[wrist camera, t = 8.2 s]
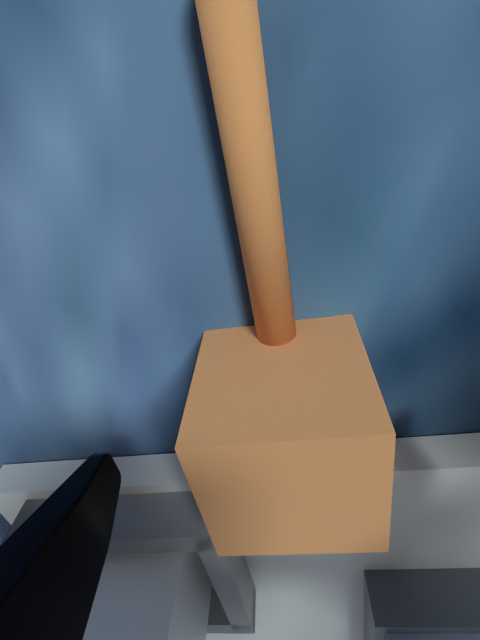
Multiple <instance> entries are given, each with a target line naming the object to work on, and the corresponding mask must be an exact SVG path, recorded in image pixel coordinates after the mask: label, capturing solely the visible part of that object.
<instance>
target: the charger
mask: <svg viewBox="0 0 480 640" xmlns="http://www.w3.org/2000/svg"><path fill="white" fill-rule="evenodd" d="M211 589H212V582H211V580H210V578H209V576H208V574H207V571H206V569H205V567H204V565H203V563H202V561H201V558H200V556H199V554H198V552H197V551H196V552H159V553H123V554H107V556H106V559H105V563H104V566H103V570H102V573H101V577H100V580H99V584H98V587H97V591H96V594H95V598H94V601H93V605H92V608H91V612H90V616H89V619H88V623H87V626H86V630H85V633H84V637H83V640H206V635H207V625H208V616H209V607H210V598H211Z"/></svg>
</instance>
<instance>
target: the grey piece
mask: <svg viewBox="0 0 480 640" xmlns="http://www.w3.org/2000/svg"><path fill="white" fill-rule="evenodd" d="M364 640H480V568H440V569H387V570H364Z"/></svg>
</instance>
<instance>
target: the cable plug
mask: <svg viewBox="0 0 480 640" xmlns="http://www.w3.org/2000/svg"><path fill="white" fill-rule="evenodd" d="M195 5H196V10H197V16H198V21H199V26H200V32H201V37H202V43H203V48H204V53H205V59H206V64H207V69H208V75H209V80H210V86H211V91H212V96H213V102H214V107H215V112H216V118H217V123H218V128H219V134H220V139H221V145H222V150H223V155H224V161H225V166H226V171H227V177H228V182H229V188H230V193H231V198H232V204H233V209H234V214H235V220H236V225H237V231H238V236H239V241H240V247H241V252H242V257H243V263H244V268H245V274H246V279H247V284H248V290H249V295H250V300H251V306H252V311H253V317H254V322H255V325H252V326H243V327H235V328H226V329H217V330H209V331H204V334H203V338H202V342H201V346H200V350H199V354H198V358H197V362H196V366H195V370H194V374H193V378H192V382H191V385H190V389H189V393H188V397H187V401H186V405H185V409H184V413H183V417H182V421H181V425H180V429H179V433H178V437H177V441H176V445H175V452H176V454H177V456H178V459H179V461H180V464H181V466H182V469H183V471H184V474H185V476H186V479H187V481H188V483H189V486H190V488H191V491H192V493H193V496H194V498H195V501H196V503H197V506H198V508H199V510H200V513H201V515H202V518H203V520H204V523H205V525H206V528H207V530H208V533H209V535H210V537H211V540H212V542H213V545H214V547H215V550H216V552H217V555H218V556H246V555H290V554H333V553H377V552H389V537H390V521H391V505H392V489H393V473H394V458H395V442H396V433H395V430H394V427H393V424H392V422H391V419H390V416H389V413H388V411H387V408H386V405H385V402H384V400H383V397H382V394H381V391H380V389H379V386H378V383H377V380H376V378H375V375H374V372H373V369H372V367H371V364H370V361H369V358H368V356H367V353H366V350H365V347H364V345H363V342H362V339H361V336H360V334H359V331H358V328H357V325H356V323H355V320H354V317H353V314H348V315H339V316H330V317H321V318H313V319H304V320H295V318H294V310H293V301H292V293H291V284H290V276H289V267H288V259H287V251H286V242H285V234H284V225H283V217H282V208H281V200H280V191H279V183H278V174H277V166H276V158H275V149H274V141H273V132H272V124H271V115H270V107H269V98H268V90H267V81H266V73H265V64H264V56H263V48H262V39H261V31H260V22H259V14H258V5H257V0H195Z"/></svg>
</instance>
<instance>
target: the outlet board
mask: <svg viewBox="0 0 480 640" xmlns="http://www.w3.org/2000/svg"><path fill="white" fill-rule="evenodd" d="M112 458H113V459H114V461H115V463H116V465H117V467H118V469H119V470H120V473H121V486H120V491H119V497H118V502H117V508H116V513H115V519H114V524H113V530H112V535H111V540H110V544H109V548H108V552H107V554H123V553H159V552H196V551H197V552H198V554H199V556H200V558H201V561H202V563H203V565H204V567H205V569H206V571H207V574H208V576H209V578H210V580H211V582H212V589H211V598H210V607H209V616H208V625H207V635H206V640H364V570H387V569H440V568H480V433H467V434H452V435H437V436H422V437H407V438H396V442H395V458H394V473H393V489H392V505H391V521H390V537H389V552H377V553H333V554H290V555H246V556H218V555H217V552H216V550H215V547H214V545H213V542H212V540H211V537H210V535H209V533H208V530H207V528H206V525H205V523H204V520H203V518H202V515H201V513H200V510H199V508H198V506H197V503H196V501H195V498H194V496H193V493H192V491H191V488H190V486H189V483H188V481H187V479H186V476H185V474H184V471H183V469H182V466H181V464H180V461H179V459H178V456H177V454H176V453H169V454H154V455H139V456H125V457H112ZM85 460H86V459H80V460H65V461H50V462H35V463H20V464H6V465H3V466H2V467H1V469H0V513H1V514H2V515H3V517H4V518H5V519H6V520H7V521H8V522H9V523H10V524H11V527H10V529H9V530H8V532H7V534H6V536H5V537H4V539H3V541H2V543H3V542H4V541H5V540H6V539H7V538H8V537H9V536H10V535H11V534H12V533H13V532H14V531H15V530H16V529H17V528H18V527H19V526H20V525H21V524H22V523H23V522H24V521H25V520H26V519H27V518H28V517H29V516H30V515H31V514H32V513H33V512H34V511H35V510H36V509H37V508H38V507H39V506H40V505H41V504H42V503H43V502H44V501H45V500H46V499H47V498H48V497H49V496H50V495H51V494H52V493H53V492H54V491H55V490H56V489H57V488H58V487H59V486H60V485H61V484H62V483H63V482H64V481H65V480H66V479H67V478H68V477H69V476H70V475H71V474H72V473H73V472H74V471H75V470H76V469H77V468H78V467H79V466H80V465H81V464H82V463H83V462H84V461H85ZM2 543H1V544H2Z"/></svg>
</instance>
